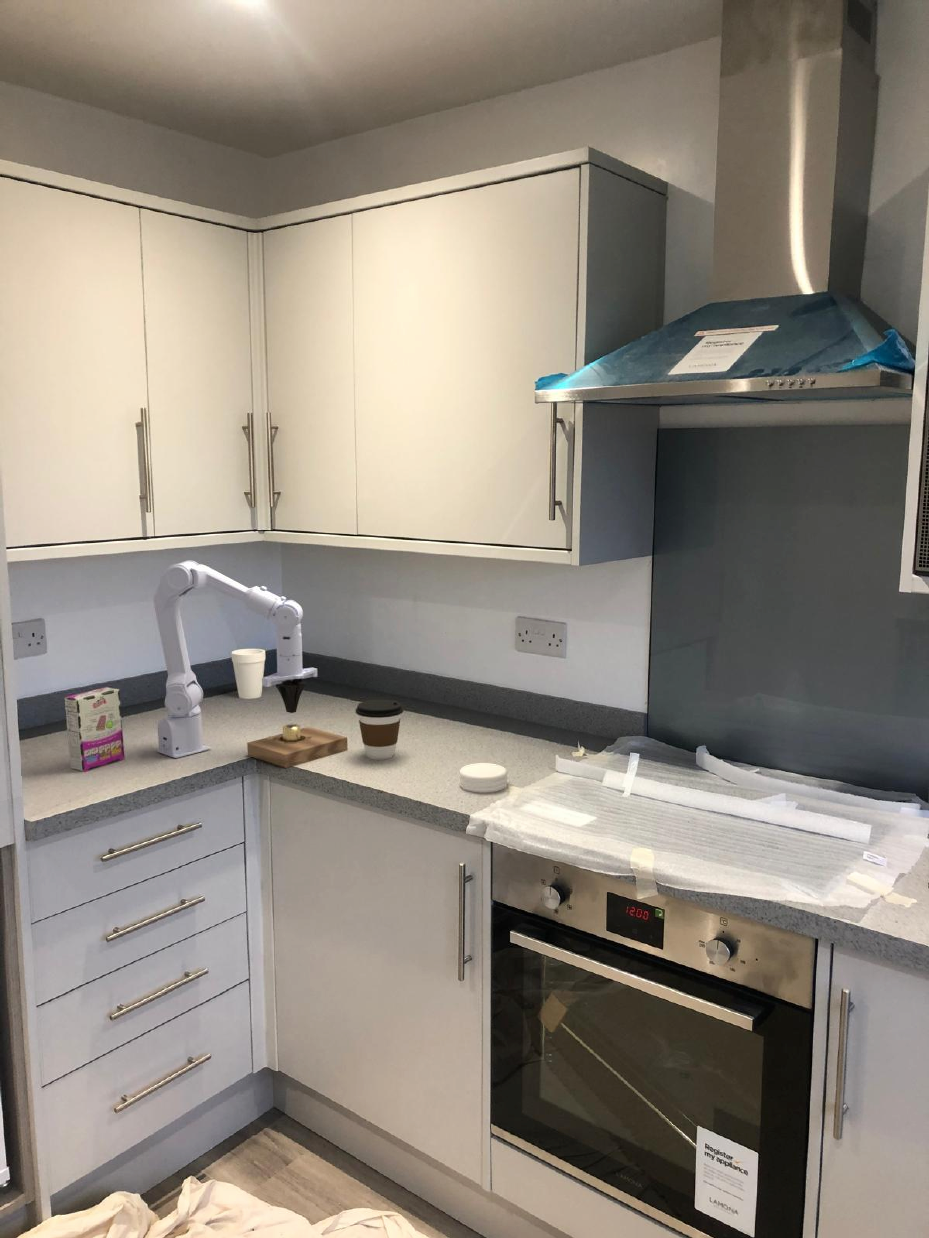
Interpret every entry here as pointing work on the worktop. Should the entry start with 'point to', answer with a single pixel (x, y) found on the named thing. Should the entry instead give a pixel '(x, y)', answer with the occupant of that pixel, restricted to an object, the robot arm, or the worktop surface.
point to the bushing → (291, 733)
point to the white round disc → (483, 777)
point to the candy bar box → (94, 728)
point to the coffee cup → (379, 727)
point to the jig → (297, 747)
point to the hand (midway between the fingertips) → (291, 711)
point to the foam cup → (249, 671)
